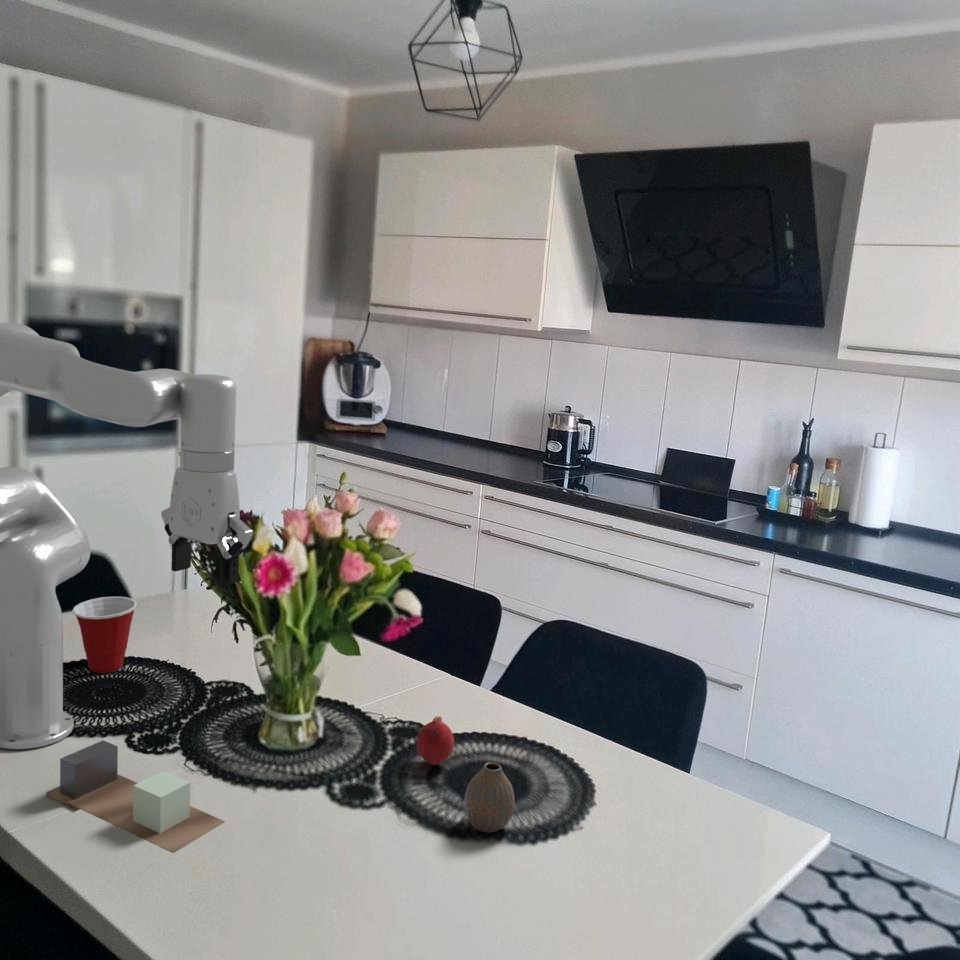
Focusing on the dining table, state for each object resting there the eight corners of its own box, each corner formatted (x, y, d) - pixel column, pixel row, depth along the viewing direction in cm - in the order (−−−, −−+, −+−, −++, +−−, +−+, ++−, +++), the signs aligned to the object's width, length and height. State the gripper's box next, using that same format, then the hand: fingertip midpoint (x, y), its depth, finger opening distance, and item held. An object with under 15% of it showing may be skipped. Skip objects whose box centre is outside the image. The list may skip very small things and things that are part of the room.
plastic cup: (70, 658, 176) (71, 596, 174) (132, 654, 181) (133, 593, 179) (73, 681, 167) (73, 616, 165) (138, 676, 171) (139, 612, 169)
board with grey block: (46, 795, 130) (46, 758, 129) (101, 770, 138) (101, 734, 137) (173, 856, 119) (174, 815, 118) (225, 824, 127) (226, 786, 126)
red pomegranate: (447, 776, 145) (451, 727, 143) (410, 770, 146) (414, 721, 144) (455, 759, 150) (459, 712, 149) (420, 753, 151) (424, 706, 150)
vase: (518, 819, 134) (524, 761, 133) (503, 843, 128) (509, 783, 126) (472, 807, 136) (477, 750, 135) (455, 830, 130) (460, 771, 128)
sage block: (132, 820, 125) (133, 785, 124) (162, 804, 129) (163, 770, 128) (160, 833, 123) (160, 797, 122) (189, 816, 127) (190, 782, 126)
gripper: (144, 455, 138) (143, 569, 141) (232, 473, 130) (228, 594, 133) (184, 450, 145) (182, 559, 148) (270, 467, 136) (266, 583, 139)
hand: (204, 576), depth 140 cm, fingers open, 9 cm apart
